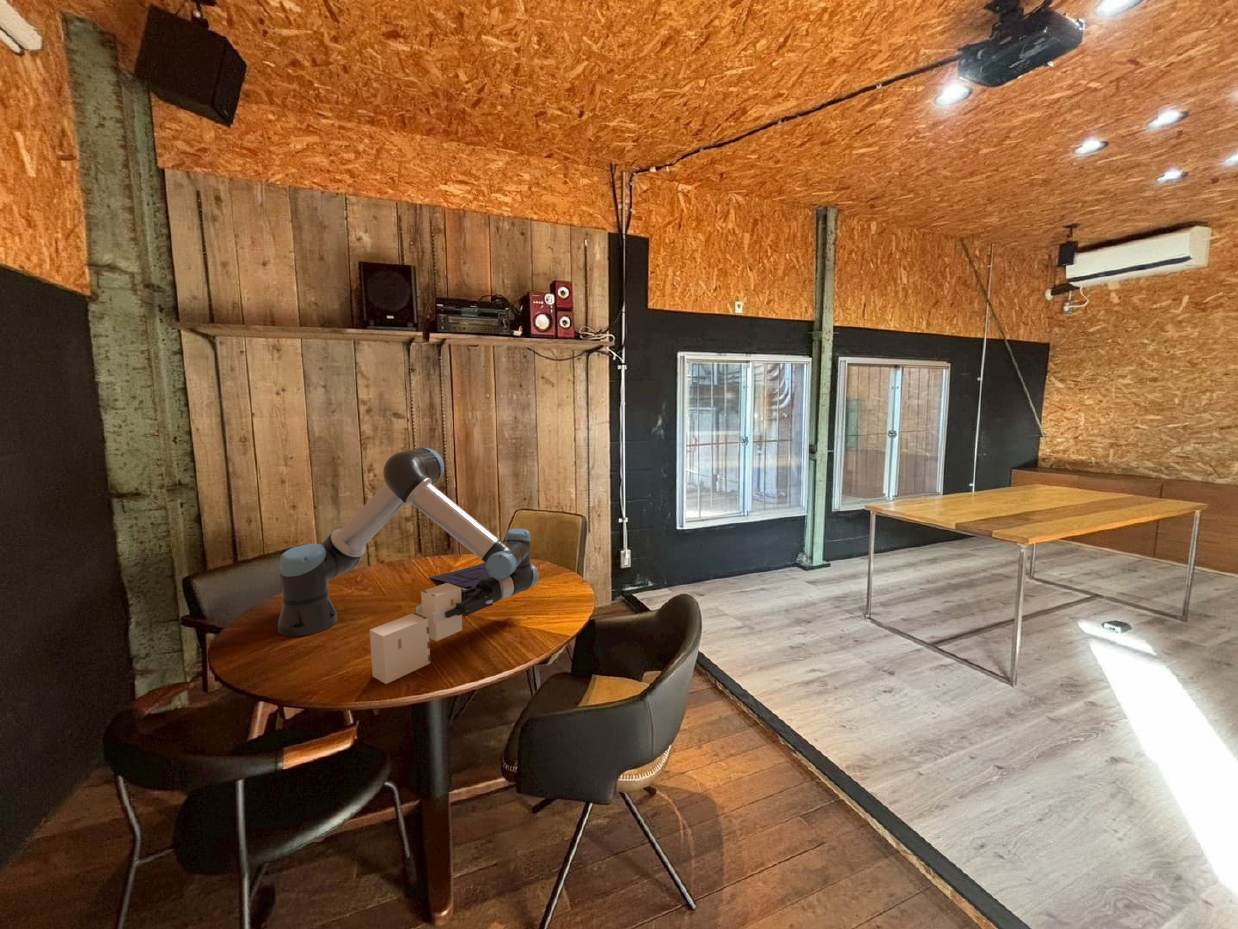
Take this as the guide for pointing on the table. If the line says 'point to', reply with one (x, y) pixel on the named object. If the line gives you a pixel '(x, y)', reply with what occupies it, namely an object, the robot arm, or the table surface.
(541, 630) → the table surface
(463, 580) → the navy flat slab
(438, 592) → the stub
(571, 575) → the table surface
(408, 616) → the white slotted block
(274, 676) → the table surface
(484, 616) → the table surface
